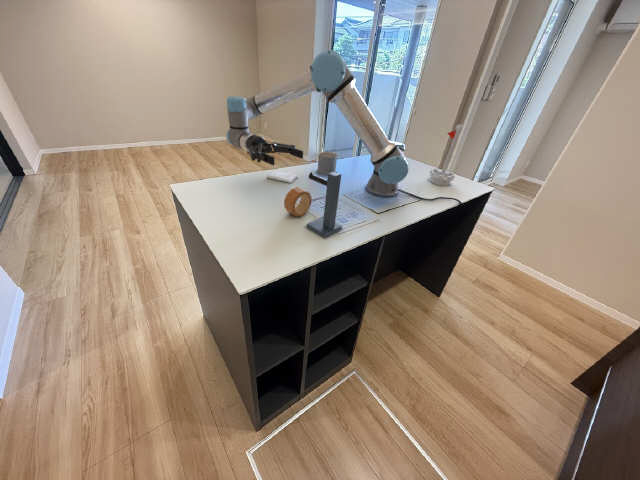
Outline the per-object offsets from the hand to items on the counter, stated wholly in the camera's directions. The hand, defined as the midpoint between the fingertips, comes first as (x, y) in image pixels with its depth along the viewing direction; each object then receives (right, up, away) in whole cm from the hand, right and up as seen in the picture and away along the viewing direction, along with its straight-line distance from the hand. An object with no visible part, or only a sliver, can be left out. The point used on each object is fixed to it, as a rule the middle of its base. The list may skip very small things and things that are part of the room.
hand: (288, 157), depth 89 cm
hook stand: (+11, -24, +2) cm, 27 cm away
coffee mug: (+16, +9, +51) cm, 54 cm away
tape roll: (+3, -15, +6) cm, 16 cm away
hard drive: (-8, +2, +38) cm, 38 cm away
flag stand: (+79, +3, +52) cm, 95 cm away
